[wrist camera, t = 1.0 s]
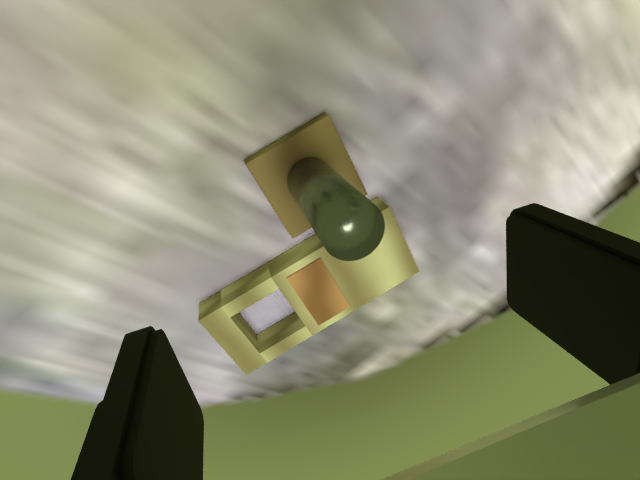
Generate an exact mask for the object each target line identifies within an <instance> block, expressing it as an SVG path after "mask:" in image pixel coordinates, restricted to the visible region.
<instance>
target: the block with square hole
mask: <svg viewBox="0 0 640 480" xmlns="http://www.w3.org/2000/svg"><path fill="white" fill-rule="evenodd" d="M371 202H372V203H373V204H375V205H376V206H377V207H378V208H379V210H380V211H381V213H382V215H383V217H384V221H385V231H384V235H383V238H382V240H381V242H380V244H379V245H378V247H377V248H376V249H375V250H374V251H373V252H372V253H371V254H369V255H368V256H366V257H364V258H362V259H359V260H355V261H343V260H339V259H336V258H335V257H333V256H331V255H330V254H329V253H328V252H327V250H326V249H325V248H324V246H323V244H322V243H321V241H320V239H319V238H318V236H317V235H316V234H314V235H313V236H311V237H309V238H308V239H306V240H304V241H303V242H301V243H299V244H298V245H296V246H294V247H293V248H291V249H289V250H288V251H286V252H284V253H282V254H281V255H279V256H277V257H276V258H274V259H272V260H271V261H269V262H267V263H266V264H264V265H262V266H261V267H259V268H257V269H256V270H254V271H252V272H251V273H249V274H247V275H246V276H244V277H242V278H241V279H239V280H237V281H236V282H234V283H232V284H231V285H229V286H227V287H225V288H224V289H222V290H220V291H219V292H217V293H215V294H214V295H212V296H210V297H209V298H207V299H205V300H204V301H202V302H200V303H199V319H198V321H199V322H200V323H201V324H202V326H203V327H204V328H205V329H206V330H207V331H208V332H209V333H210V335H211V336H212V337H213V338H214V339H215V340H216V341H217V342H218V344H219V345H220V346H221V347H222V348H223V349H224V350H225V351H226V353H227V354H228V355H229V356H230V357H231V358H232V359H233V360H234V362H235V363H236V364H237V365H238V366H239V367H240V368H241V369H242V371H243V372H244V373H245V374H246V375H247V374H249V373H250V372H252V371H254V370H255V369H257V368H259V367H260V366H262V365H264V364H265V363H267V362H269V361H271V360H272V359H274V358H276V357H277V356H279V355H281V354H282V353H284V352H286V351H287V350H289V349H291V348H292V347H294V346H296V345H297V344H299V343H301V342H302V341H304V340H306V339H307V338H309V337H311V336H312V335H314V334H316V333H317V332H319V331H321V330H322V329H324V328H326V327H327V326H329V325H331V324H332V323H334V322H336V321H337V320H339V319H341V318H342V317H344V316H346V315H347V314H349V313H351V312H352V311H354V310H356V309H357V308H359V307H361V306H362V305H364V304H366V303H367V302H369V301H371V300H372V299H374V298H376V297H377V296H379V295H381V294H382V293H384V292H386V291H387V290H389V289H391V288H392V287H394V286H396V285H397V284H399V283H401V282H402V281H404V280H406V279H407V278H409V277H411V276H412V275H414V274H416V273H417V272H419V270H418V268H417V265H416V263H415V261H414V259H413V257H412V255H411V252H410V250H409V248H408V246H407V244H406V242H405V239H404V237H403V235H402V233H401V231H400V229H399V226H398V224H397V222H396V220H395V218H394V216H393V213H392V211H391V209H390V207H389V206H388V205H387V204H385V203H384V202H383V201H381V200H380V199H379V198H378V197H376V198H375V199H373V200H371ZM277 289H280V291H281V292H282V293H283V295H284V296H285V298H286V299H287V301H288V302H289V303H290V305H291V306H292V308H293V309H294V310H295V312H294V313H293V314H291V315H289V316H288V317H286V318H284V319H283V320H281V321H279V322H278V323H276V324H274V325H273V326H271V327H269V328H268V329H266V330H264V331H263V332H261V333H259V334H258V335H256V333H255V332H254V331H253V330H252V328H251V327H250V326H249V325H248V323H247V322H246V321H245V320H244V318H243V317H242V316H241V315H240V313H239V312H240V311H242V310H244V309H245V308H247V307H249V306H250V305H252V304H254V303H255V302H257V301H259V300H260V299H262V298H264V297H265V296H267V295H269V294H270V293H272V292H274V291H276V290H277Z"/></svg>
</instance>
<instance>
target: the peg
mask: <svg viewBox="0 0 640 480" xmlns="http://www.w3.org/2000/svg"><path fill="white" fill-rule="evenodd" d="M287 185H288V188H289V191H290V192H291V194H292V196H293V197H294V199H295V200H296V202H297V204H298V205H299V207H300V209H301V210H302V212H303V213H304V215H305V217H306V218H307V220H308V222H309V223H310V225H311V226H312V228H313V230H314V231H315V233H316V235H317V236H318V238H319V239H320V241H321V243H322V244H323V246H324V248H325V249H326V250H327V252H328V253H329V254H330V255H331V256H333V257H335V258H336V259H339V260H343V261H355V260H359V259H362V258H364V257H366V256H368V255H369V254H371V253H372V252H373V251H374V250H375V249H376V248H377V247H378V245H379V244H380V242H381V240H382V238H383V235H384V231H385V221H384V217H383V215H382V213H381V211H380V210H379V208H378V207H377V206H376V205H375V204H373V203H372V202H371V201H370V200H369V199H368V198H366V197H365V196H364V195H363V194H362V193H360V192H359V191H358V190H357V189H356V188H355V187H353V186H352V185H351V184H350V183H349V182H348V181H346V180H345V179H344V178H343V177H342V176H340V175H339V174H338V173H337V172H336V171H335V170H333V169H332V168H331V167H330V166H329V165H328V164H326V163H325V162H324V161H323V160H321V159H319V158H315V157H306V158H303V159H300V160H299V161H297V162H296V163H295V164H294V165H293V166H292V167H291V169H290V171H289V173H288V177H287Z"/></svg>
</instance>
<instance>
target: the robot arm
mask: <svg viewBox="0 0 640 480" xmlns="http://www.w3.org/2000/svg"><path fill="white" fill-rule="evenodd" d="M506 257H507V301H508V304H509V306H510V307H511V308H512V310H513V311H515V312H516V313H517V314H519V315H520V316H521V317H523V318H524V319H525V320H526V321H528V322H529V323H530V324H532V325H533V326H534V327H536V328H537V329H538V330H540V331H541V332H542V333H544V334H545V335H546V336H548V337H549V338H550V339H551V340H553V341H554V342H555V343H557V344H558V345H559V346H561V347H562V348H563V349H564V350H566V351H567V352H568V353H570V354H571V355H572V356H574V357H575V358H576V359H578V360H579V361H580V362H582V363H583V364H584V365H586V366H587V367H588V368H589V369H591V370H592V371H593V372H595V373H596V374H597V375H599V376H600V377H601V378H603V379H604V380H605V381H607V382H608V383H609V384H610V385H609V386H607V387H604V388H602V389H599V390H597V391H594V392H592V393H589V394H587V395H584V396H582V397H580V398H577V399H575V400H572V401H570V402H567V403H565V404H562V405H560V406H557V407H555V408H553V409H550V410H548V411H545V412H543V413H540V414H538V415H536V416H533V417H531V418H528V419H526V420H524V421H521V422H519V423H516V424H514V425H511V426H509V427H506V428H504V429H502V430H499V431H497V432H494V433H492V434H489V435H487V436H485V437H482V438H480V439H478V440H475V441H473V442H470V443H468V444H465V445H463V446H461V447H458V448H456V449H454V450H451V451H448V452H446V453H444V454H441V455H439V456H436V457H434V458H431V459H429V460H427V461H424V462H422V463H420V464H417V465H415V466H412V467H410V468H408V469H405V470H403V471H400V472H398V473H396V474H393V475H391V476H389V477H386V478H384V479H381V480H640V243H639V242H637V241H634V240H631V239H629V238H626V237H623V236H621V235H618V234H615V233H613V232H610V231H607V230H605V229H602V228H600V227H597V226H594V225H592V224H589V223H586V222H584V221H581V220H579V219H576V218H573V217H571V216H568V215H565V214H563V213H560V212H557V211H555V210H552V209H550V208H547V207H544V206H542V205H539V204H535V203H533V204H529V205H526V206H523V207H520V208H517V209H514V210H513V211H512V212H511V214H510V216H509V217H508V218H507V220H506ZM203 435H204V420H203V414H202V411H201V408H200V406H199V404H198V402H197V399H196V397H195V395H194V393H193V391H192V389H191V387H190V385H189V383H188V381H187V379H186V376H185V374H184V372H183V370H182V368H181V366H180V364H179V362H178V360H177V358H176V355H175V353H174V351H173V349H172V347H171V345H170V343H169V341H168V339H167V337H166V334H165V333H164V331H163V330H162V329H160V330H157V331H155V329H154V328H153V327H151V326H149V327H146V328H143V329H140V330H137V331H134V332H131V333H128V334H126V335H125V336H124V339H123V342H122V345H121V348H120V351H119V354H118V357H117V360H116V363H115V366H114V369H113V372H112V375H111V378H110V381H109V384H108V387H107V390H106V393H105V396H104V399H103V401H101V402H100V403H99V404H98V405H97V407H96V409H95V412H94V415H93V417H92V420H91V423H90V426H89V429H88V432H87V435H86V438H85V441H84V443H83V446H82V449H81V452H80V455H79V458H78V461H77V463H76V466H75V469H74V472H73V475H72V478H71V480H203V439H204V437H203Z"/></svg>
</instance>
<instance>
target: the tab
mask: <svg viewBox="0 0 640 480" xmlns="http://www.w3.org/2000/svg"><path fill="white" fill-rule="evenodd" d="M306 157H315V158H319V159H321V160H323V161H324V162H325V163H326V164H328V165H329V166H330V167H331V168H332V169H333V170H335V171H336V172H337V173H338V174H339V175H340V176H342V177H343V178H344V179H345V180H346V181H348V182H349V183H350V184H351V185H352V186H353V187H355V188H356V189H357V190H358V191H359V192H360V193H362V194H363V195H364V196H365V195H367V192H366V190H365V188H364V186H363V184H362V182H361V180H360V178H359V175H358V173H357V171H356V169H355V167H354V165H353V163H352V161H351V159H350V157H349V155H348V153H347V151H346V149H345V147H344V145H343V142H342V140H341V138H340V136H339V134H338V132H337V130H336V128H335V126H334V124H333V122H332V120H331V118H330V116H329V114H326V113H323V114H322V115H320V116H318V117H317V118H315V119H313V120H311V121H310V122H308V123H306V124H305V125H303V126H301V127H300V128H298V129H296V130H295V131H293V132H291V133H290V134H288V135H286V136H285V137H283V138H281V139H279V140H278V141H276V142H274V143H273V144H271V145H269V146H268V147H266V148H264V149H263V150H261V151H259V152H258V153H256V154H254V155H253V156H251V157H249V158H247V159H246V160H244V161H245V164H246V166H247V167H248V169H249V171H250V172H251V174H252V175H253V177H254V178H255V180H256V182H257V183H258V185H259V186H260V188H261V190H262V191H263V193H264V194H265V196H266V197H267V199H268V201H269V202H270V204H271V205H272V207H273V209H274V210H275V212H276V213H277V215H278V216H279V218H280V220H281V221H282V223H283V224H284V226H285V228H286V229H287V231H288V232H289V234H290V235H291V237H292V239H293V238H295V237H296V236H298V235H300V234H301V233H303V232H305V231H306V230H308V229H310V228H312V226H311V225H310V223H309V222H308V220H307V218H306V217H305V215H304V213H303V212H302V210H301V209H300V207H299V205H298V204H297V202H296V200H295V199H294V197H293V196H292V194H291V192H290V191H289V188H288V185H287V177H288V173H289V171H290V169H291V167H292V166H293V165H294V164H295V163H296V162H297V161H299V160H300V159H303V158H306Z"/></svg>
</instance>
